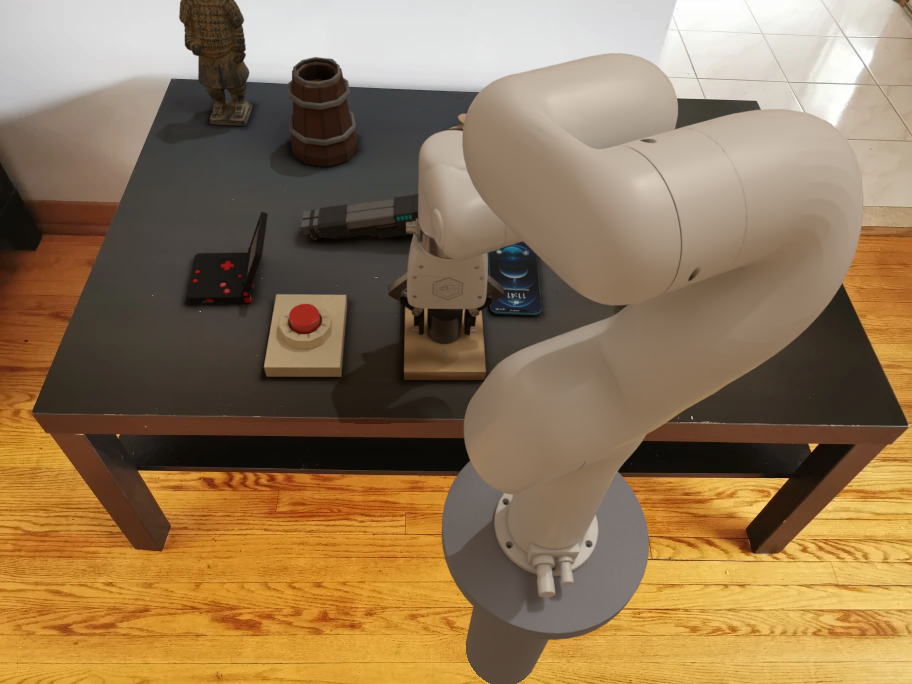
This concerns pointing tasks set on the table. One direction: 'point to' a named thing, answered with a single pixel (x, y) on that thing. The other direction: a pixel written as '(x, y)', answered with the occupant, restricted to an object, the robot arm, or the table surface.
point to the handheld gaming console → (227, 273)
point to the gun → (362, 219)
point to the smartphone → (516, 280)
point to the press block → (307, 338)
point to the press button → (304, 318)
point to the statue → (219, 55)
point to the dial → (444, 325)
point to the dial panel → (443, 353)
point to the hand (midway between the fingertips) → (444, 326)
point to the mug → (321, 113)
